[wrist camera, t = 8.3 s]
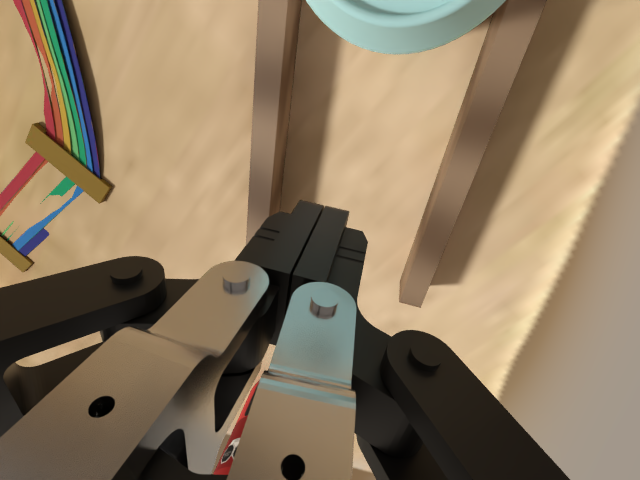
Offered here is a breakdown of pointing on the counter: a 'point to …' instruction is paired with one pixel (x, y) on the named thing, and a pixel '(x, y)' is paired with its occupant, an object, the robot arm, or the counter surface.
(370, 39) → the can
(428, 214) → the channel
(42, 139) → the ribbon cable
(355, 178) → the counter surface
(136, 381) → the robot arm
